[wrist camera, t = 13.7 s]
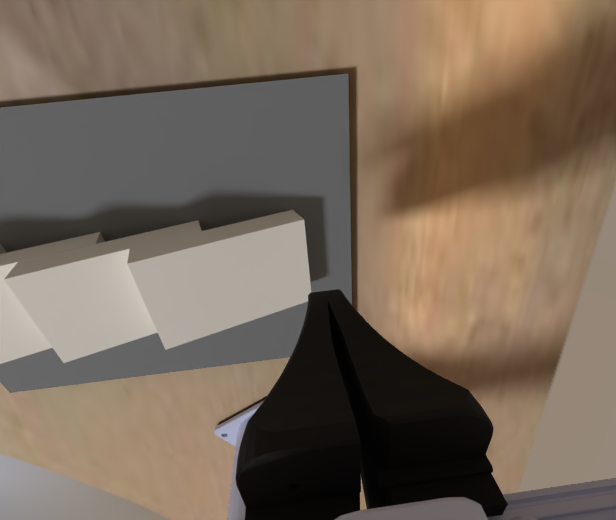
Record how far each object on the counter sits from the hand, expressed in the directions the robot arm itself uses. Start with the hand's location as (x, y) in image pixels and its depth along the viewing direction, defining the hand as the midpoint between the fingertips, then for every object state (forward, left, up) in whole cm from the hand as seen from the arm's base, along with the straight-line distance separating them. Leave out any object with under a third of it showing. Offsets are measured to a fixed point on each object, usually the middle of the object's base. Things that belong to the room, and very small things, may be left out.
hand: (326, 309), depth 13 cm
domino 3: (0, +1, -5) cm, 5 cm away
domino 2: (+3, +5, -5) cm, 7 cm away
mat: (+5, +8, -6) cm, 11 cm away
